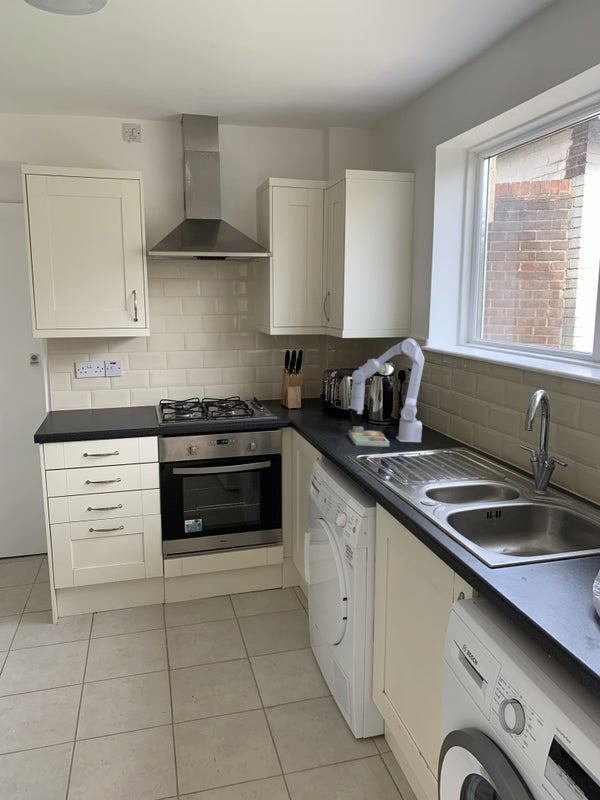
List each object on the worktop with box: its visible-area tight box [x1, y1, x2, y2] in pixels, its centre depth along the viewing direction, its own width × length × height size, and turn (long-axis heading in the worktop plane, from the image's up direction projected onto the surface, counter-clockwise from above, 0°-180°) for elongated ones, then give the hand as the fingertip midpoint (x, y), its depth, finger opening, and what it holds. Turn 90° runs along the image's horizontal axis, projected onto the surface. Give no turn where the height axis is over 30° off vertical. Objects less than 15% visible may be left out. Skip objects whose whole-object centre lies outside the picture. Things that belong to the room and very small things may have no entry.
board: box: [348, 429, 385, 441], centre depth 264 cm, size 14×8×2 cm, turn 95°
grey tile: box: [352, 425, 365, 433], centre depth 264 cm, size 4×4×2 cm
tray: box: [351, 436, 390, 447], centre depth 255 cm, size 14×9×2 cm, turn 95°
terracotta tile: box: [372, 436, 384, 441], centre depth 256 cm, size 4×4×2 cm
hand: (355, 426), depth 271 cm, fingers closed
